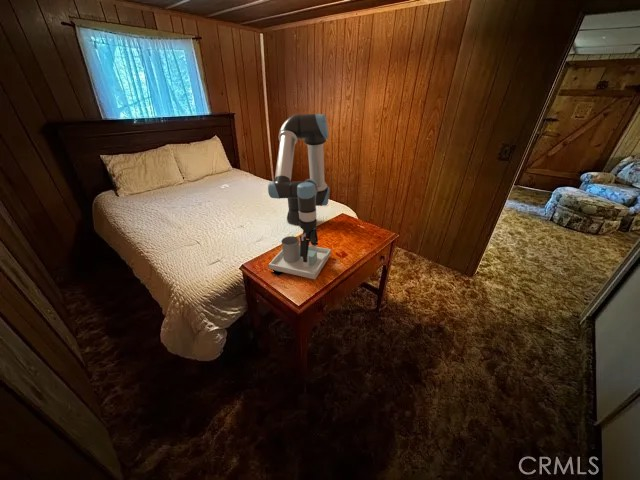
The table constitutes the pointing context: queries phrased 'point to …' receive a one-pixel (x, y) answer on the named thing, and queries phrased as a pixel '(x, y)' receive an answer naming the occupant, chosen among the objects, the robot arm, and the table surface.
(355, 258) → the table surface
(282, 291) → the table surface
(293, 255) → the cup
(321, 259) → the shallow white dish
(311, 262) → the block
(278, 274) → the smartphone
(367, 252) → the table surface
